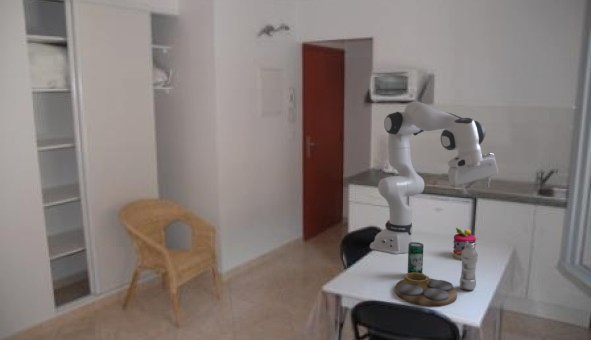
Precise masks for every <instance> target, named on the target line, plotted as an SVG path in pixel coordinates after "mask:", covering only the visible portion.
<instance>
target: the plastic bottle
mask: <svg viewBox="0 0 591 340" xmlns="http://www.w3.org/2000/svg"><path fill="white" fill-rule="evenodd" d="M475 244H476V242H475V243H474V242H472V241H466V242H465V247H466V248H465V249H464V250H463V251H462V254H461V258H462V260H461V273H460V278H459V286H460V288H461V289H463V290H466V291H473V290H474V289H476V287H477V279H476V268H477V261H478V257H479V256H478V252H477V250H476V245H475ZM474 248H475V249H474Z"/></svg>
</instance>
